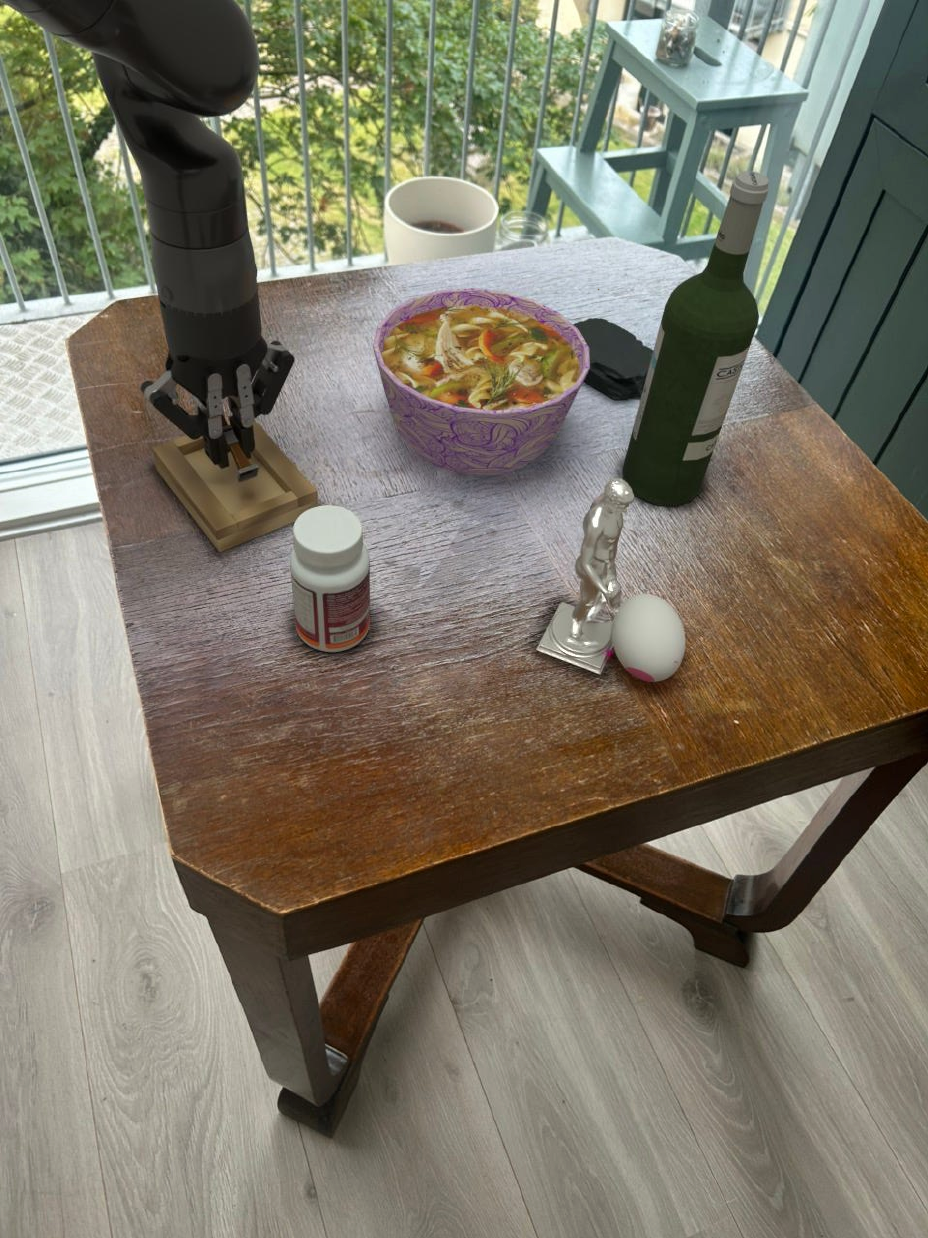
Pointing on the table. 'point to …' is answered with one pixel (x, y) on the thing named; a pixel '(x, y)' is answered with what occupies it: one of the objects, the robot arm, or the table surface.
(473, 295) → the bowl of food
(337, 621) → the pill bottle
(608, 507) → the figurine
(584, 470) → the table surface
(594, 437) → the table surface
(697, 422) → the wine bottle
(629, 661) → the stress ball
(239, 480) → the wooden post with brackets
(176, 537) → the table surface
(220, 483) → the holder
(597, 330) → the stone
